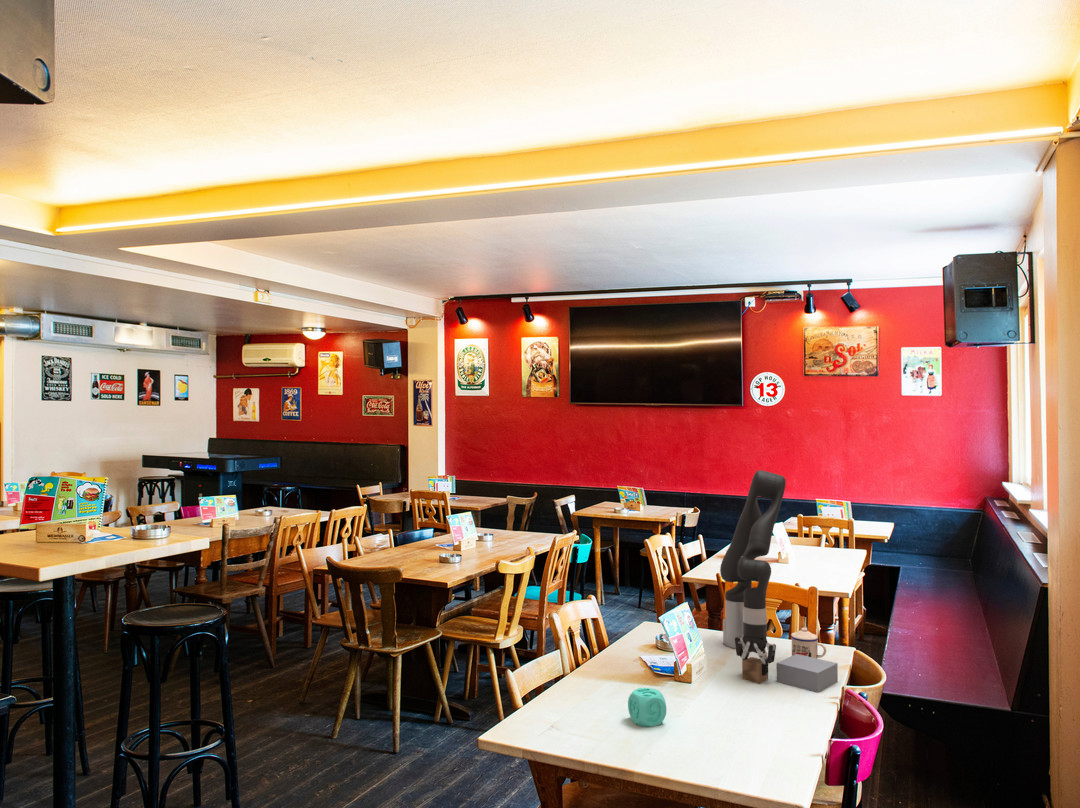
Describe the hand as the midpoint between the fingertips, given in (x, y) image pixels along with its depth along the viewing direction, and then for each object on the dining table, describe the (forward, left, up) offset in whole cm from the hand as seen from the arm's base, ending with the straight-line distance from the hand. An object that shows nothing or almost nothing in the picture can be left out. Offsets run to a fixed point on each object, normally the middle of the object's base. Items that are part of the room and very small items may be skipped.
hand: (755, 672), depth 242 cm
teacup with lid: (+4, +30, -2) cm, 30 cm away
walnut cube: (0, 0, -2) cm, 2 cm away
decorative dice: (-3, -54, -2) cm, 54 cm away
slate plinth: (+13, +10, -2) cm, 17 cm away
